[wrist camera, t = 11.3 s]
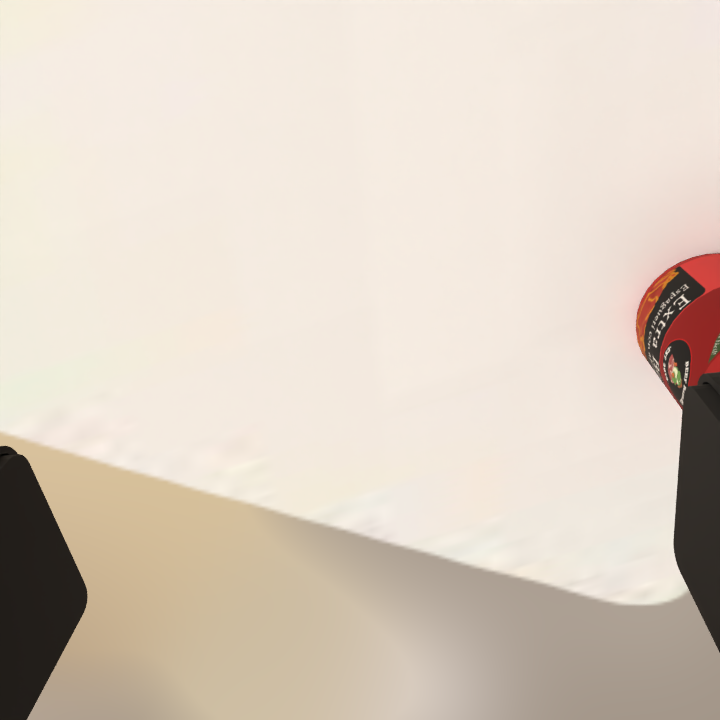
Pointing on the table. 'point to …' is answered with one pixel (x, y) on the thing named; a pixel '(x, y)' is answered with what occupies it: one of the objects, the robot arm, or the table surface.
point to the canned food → (682, 323)
